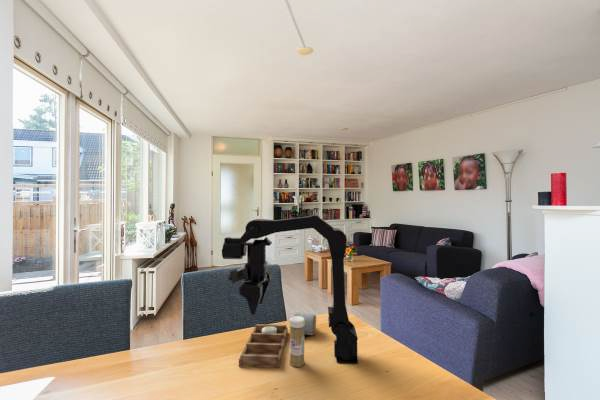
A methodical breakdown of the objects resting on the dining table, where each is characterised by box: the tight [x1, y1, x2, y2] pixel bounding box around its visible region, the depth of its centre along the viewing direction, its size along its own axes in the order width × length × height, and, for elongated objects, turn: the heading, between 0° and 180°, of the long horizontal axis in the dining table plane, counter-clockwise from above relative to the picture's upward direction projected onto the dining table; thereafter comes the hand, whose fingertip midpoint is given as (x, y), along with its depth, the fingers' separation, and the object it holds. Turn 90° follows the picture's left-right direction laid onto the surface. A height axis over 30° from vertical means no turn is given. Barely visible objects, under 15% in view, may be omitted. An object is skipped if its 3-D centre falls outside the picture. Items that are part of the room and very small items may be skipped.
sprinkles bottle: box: [289, 315, 305, 368], centre depth 89 cm, size 5×5×14 cm
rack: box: [238, 323, 289, 369], centre depth 99 cm, size 12×23×3 cm, turn 176°
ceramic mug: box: [292, 311, 317, 336], centre depth 111 cm, size 11×8×8 cm
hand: (256, 308), depth 94 cm, fingers open, 9 cm apart
